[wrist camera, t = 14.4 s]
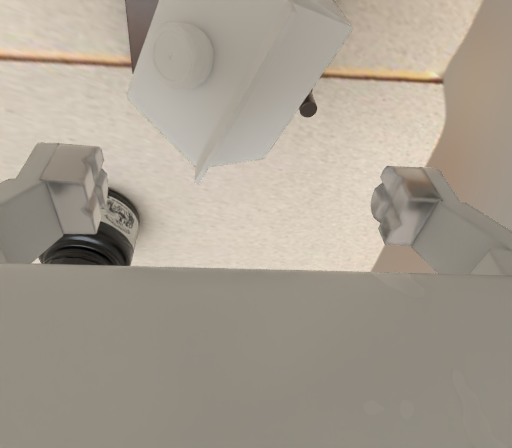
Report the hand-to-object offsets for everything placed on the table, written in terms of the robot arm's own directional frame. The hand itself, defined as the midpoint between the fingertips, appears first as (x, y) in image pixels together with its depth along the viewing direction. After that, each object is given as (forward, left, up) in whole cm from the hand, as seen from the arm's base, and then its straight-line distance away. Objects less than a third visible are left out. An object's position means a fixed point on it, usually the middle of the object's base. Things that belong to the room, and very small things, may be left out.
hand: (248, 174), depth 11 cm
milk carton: (0, 0, -22) cm, 22 cm away
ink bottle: (+25, -13, -24) cm, 36 cm away
